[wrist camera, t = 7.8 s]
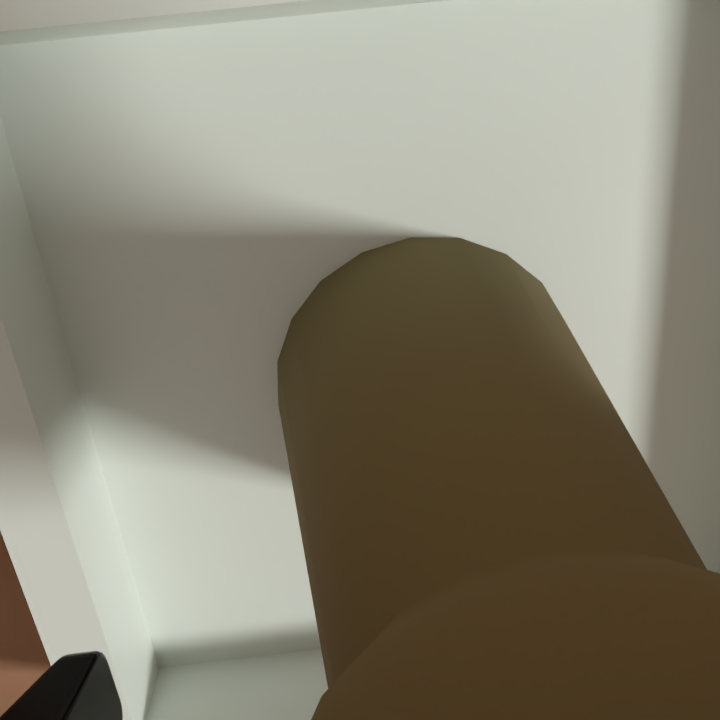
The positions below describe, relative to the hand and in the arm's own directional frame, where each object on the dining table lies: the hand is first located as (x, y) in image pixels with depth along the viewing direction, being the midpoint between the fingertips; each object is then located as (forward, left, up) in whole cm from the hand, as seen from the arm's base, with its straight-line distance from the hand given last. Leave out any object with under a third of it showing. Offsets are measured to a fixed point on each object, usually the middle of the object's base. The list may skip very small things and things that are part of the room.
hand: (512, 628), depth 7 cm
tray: (0, 0, -8) cm, 8 cm away
